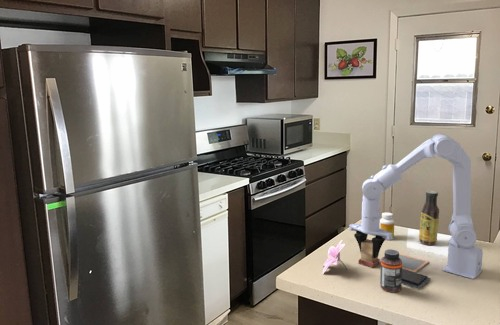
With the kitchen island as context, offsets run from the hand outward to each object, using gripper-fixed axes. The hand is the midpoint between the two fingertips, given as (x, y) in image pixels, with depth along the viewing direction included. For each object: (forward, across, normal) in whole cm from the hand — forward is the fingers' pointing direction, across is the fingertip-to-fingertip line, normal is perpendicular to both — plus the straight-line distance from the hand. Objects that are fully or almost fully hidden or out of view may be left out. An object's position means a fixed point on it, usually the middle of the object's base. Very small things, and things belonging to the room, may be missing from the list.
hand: (369, 255), depth 144 cm
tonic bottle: (+3, -7, -31) cm, 32 cm away
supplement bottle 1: (+3, +7, -26) cm, 27 cm away
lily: (+3, +6, +12) cm, 14 cm away
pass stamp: (+3, 0, 0) cm, 3 cm away
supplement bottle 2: (+3, -13, +12) cm, 18 cm away
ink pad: (+3, -15, +3) cm, 16 cm away
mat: (+3, -9, -8) cm, 12 cm away
